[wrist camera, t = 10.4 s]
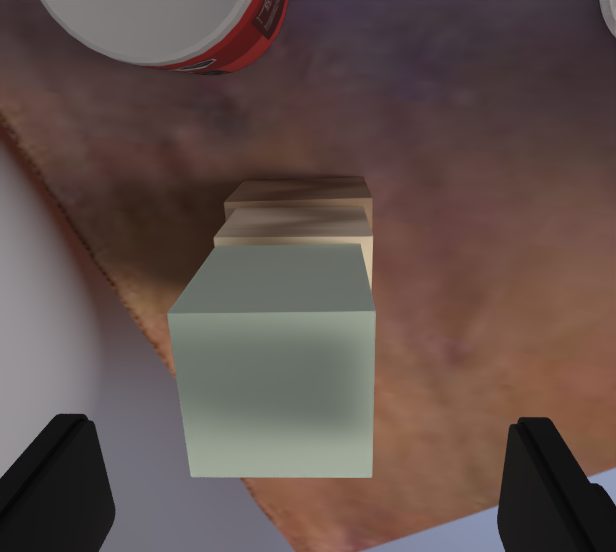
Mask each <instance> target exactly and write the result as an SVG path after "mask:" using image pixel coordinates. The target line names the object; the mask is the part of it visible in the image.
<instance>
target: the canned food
mask: <svg viewBox="0 0 616 552" xmlns="http://www.w3.org/2000/svg"><path fill="white" fill-rule="evenodd" d="M40 1H41V2H42V4H43V5H44V6H45V8H46V9H47V11H48V12H49V13H50V15H51V16H52V17H53V18H54V19H55V20H56V21H57V22H58V23H59V24H60V25H61V26H62V27H63V28H64V29H65V30H66V31H67V32H68V33H69V34H70V35H72V36H73V37H74V38H76V39H77V40H79V41H80V42H82V43H83V44H84V45H86V46H87V47H89V48H91V49H93V50H95V51H97V52H99V53H101V54H104V55H106V56H108V57H110V58H113V59H115V60H117V61H121V62H125V63H130V64H134V65H138V66H144V67H148V68H155V69H163V70H171V71H179V72H187V73H195V74H203V75H221V74H226V73H231V72H234V71H237V70H239V69H242V68H244V67H246V66H248V65H249V64H251V63H252V62H254V61H255V60H257V59H258V58H259V57H260V56H261V55H262V54H263V53H264V52H265V51H266V50H267V49H268V48H269V47H270V45H271V44H272V42H273V41H274V39H275V38H276V36H277V35H278V33H279V30H280V28H281V25H282V23H283V21H284V18H285V13H286V9H287V4H288V0H40Z"/></svg>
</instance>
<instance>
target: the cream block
mask: <svg viewBox="0 0 616 552" xmlns="http://www.w3.org/2000/svg"><path fill="white" fill-rule="evenodd" d="M277 207H364V210H365V213H366V216H367V219H368V222H369V226H370V229H371V232H372V196H371V193H370V191H369V189H368V186H367V184H366V182H365V179H364V177H344V178H312V179H280V180H248V181H243V182H242V183H241V184H240V185H239V186H238V188H237V189H236V190H235V191H234V192H233V193H232V194H231V195H230V196H229V197H228V198H227V199H226V200H225V201H224V209H225V219H226V221H227V220H228V218H229V217H230V216H231V215H232V213H233V212H234V211H235V209H236V208H277ZM371 290H372V284H371Z"/></svg>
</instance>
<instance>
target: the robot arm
mask: <svg viewBox="0 0 616 552" xmlns="http://www.w3.org/2000/svg"><path fill="white" fill-rule="evenodd" d="M114 519H115V505H114V501H113V497H112V493H111V489H110V484H109V481H108V476H107V472H106V468H105V464H104V461H103V456H102V452H101V448H100V444H99V440H98V436H97V432H96V428H95V424H94V422H93V421H90V420H88V418H87V417H86V415H84V414H58V415H56V416H55V417H54V418H53V419H52V420H51V421H50V422H49V424H48V425H47V426H46V427H45V428H44V429H43V430H42V431H41V433H40V434H39V435H38V436H37V437H36V438H35V439H34V441H33V442H32V443H31V444H30V445H29V446H28V448H27V449H26V450H25V451H24V452H23V453H22V454H21V456H20V457H19V458H18V459H17V460H16V461H15V462H14V464H13V465H12V466H11V467H10V468H9V470H7V472H6V473H5V474H4V475H3V476H2V477H1V478H0V552H99V550H100V548H101V546H102V544H103V542H104V540H105V538H106V536H107V534H108V533H109V531H110V529H111V527H112V524H113V522H114ZM497 524H498V530H499V534H500V538H501V541H502V543H503V546H504V549H505V552H616V506H615V504H614V502H613V501H612V499H611V498H610V496H609V495H608V493H607V492H606V491H605V490H604V488H603V487H602V486H600V485H599V484H597V483H590V482H589V480H588V479H587V477H586V475H585V474H584V472H583V470H582V469H581V467H580V466H579V464H578V462H577V461H576V459H575V458H574V456H573V454H572V453H571V451H570V450H569V448H568V446H567V445H566V443H565V442H564V440H563V438H562V437H561V435H560V434H559V432H558V430H557V429H556V427H555V426H554V424H553V422H552V421H551V420H550V419H549V418H547V417H521V418H519V420H518V423H517V424H511V425H510V427H509V433H508V440H507V448H506V455H505V463H504V470H503V478H502V485H501V493H500V500H499V508H498V515H497Z"/></svg>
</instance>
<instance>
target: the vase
mask: <svg viewBox="0 0 616 552" xmlns="http://www.w3.org/2000/svg"><path fill="white" fill-rule="evenodd" d="M599 1H600V7H601V11H602V15H603V18H604V20H605V22H606V25H607V27H608V28H609V30H610V31H611V33H612V34H613V35H614V36H615V38H616V0H599Z"/></svg>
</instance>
